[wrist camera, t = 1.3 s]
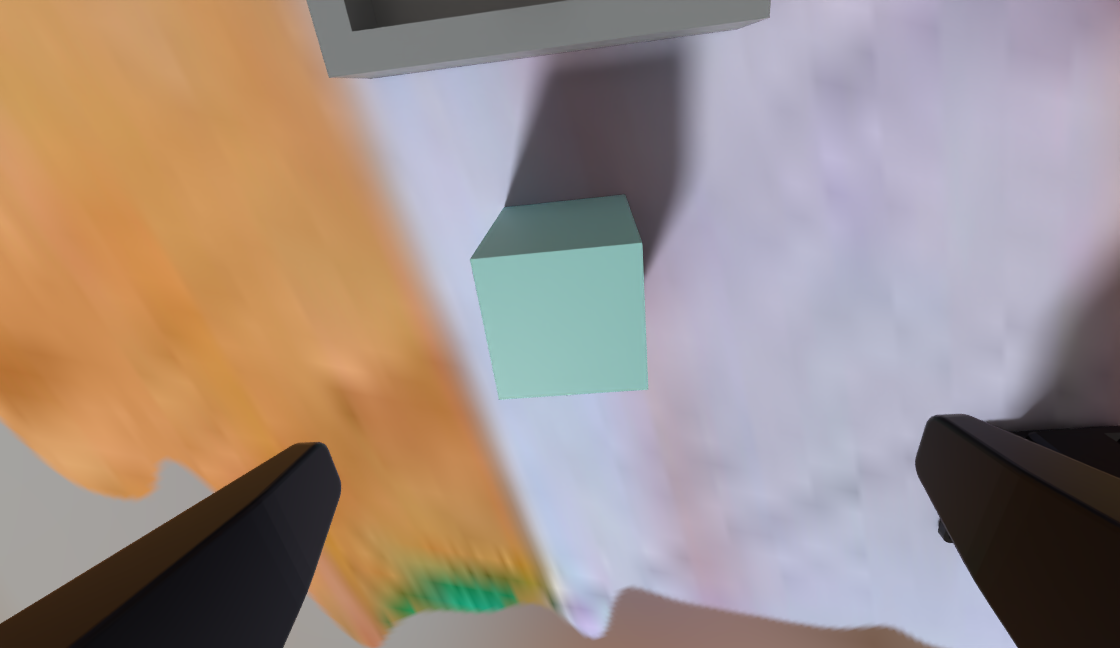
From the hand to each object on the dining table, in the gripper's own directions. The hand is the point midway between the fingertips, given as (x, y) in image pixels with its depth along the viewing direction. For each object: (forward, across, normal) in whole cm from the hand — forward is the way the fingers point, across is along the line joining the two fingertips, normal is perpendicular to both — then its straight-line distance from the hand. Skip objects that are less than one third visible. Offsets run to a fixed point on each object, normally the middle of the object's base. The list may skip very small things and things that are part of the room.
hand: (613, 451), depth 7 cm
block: (+12, +1, +1) cm, 12 cm away
